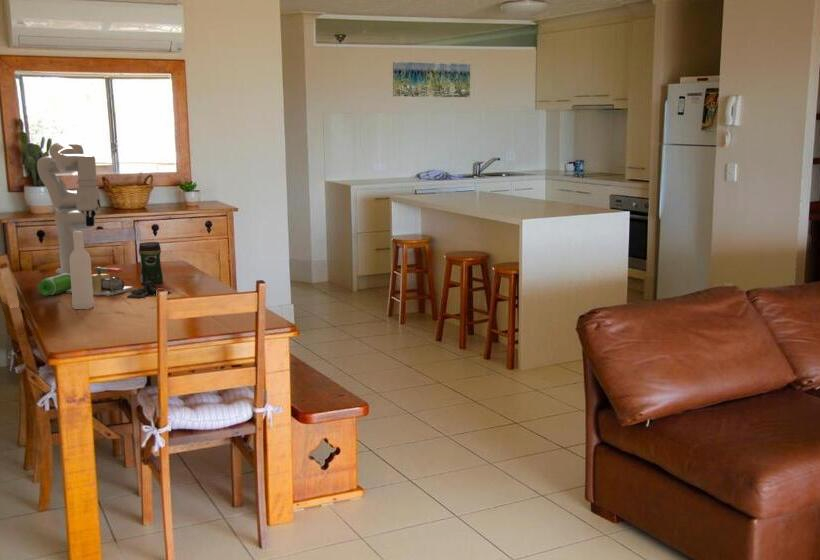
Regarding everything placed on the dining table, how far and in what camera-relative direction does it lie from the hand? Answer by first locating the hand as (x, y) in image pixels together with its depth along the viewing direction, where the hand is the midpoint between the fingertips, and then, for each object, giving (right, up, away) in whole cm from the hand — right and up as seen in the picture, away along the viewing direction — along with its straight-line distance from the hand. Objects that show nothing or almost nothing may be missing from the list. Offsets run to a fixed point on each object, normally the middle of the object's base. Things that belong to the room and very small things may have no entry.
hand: (90, 225), depth 386 cm
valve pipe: (+7, -29, -8) cm, 31 cm away
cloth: (+32, -30, -14) cm, 46 cm away
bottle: (+13, -35, -42) cm, 56 cm away
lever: (+12, -22, -12) cm, 27 cm away
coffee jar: (+24, -25, +11) cm, 36 cm away
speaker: (-10, -30, -10) cm, 33 cm away
